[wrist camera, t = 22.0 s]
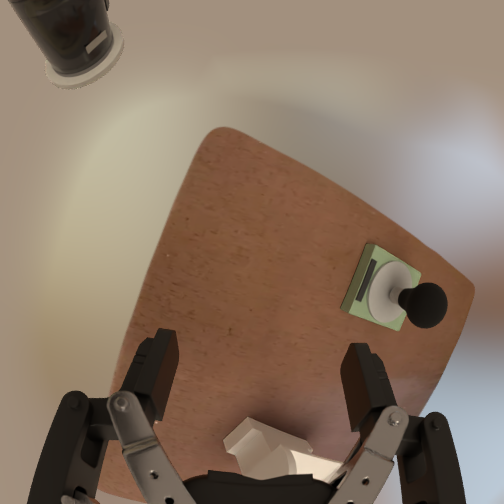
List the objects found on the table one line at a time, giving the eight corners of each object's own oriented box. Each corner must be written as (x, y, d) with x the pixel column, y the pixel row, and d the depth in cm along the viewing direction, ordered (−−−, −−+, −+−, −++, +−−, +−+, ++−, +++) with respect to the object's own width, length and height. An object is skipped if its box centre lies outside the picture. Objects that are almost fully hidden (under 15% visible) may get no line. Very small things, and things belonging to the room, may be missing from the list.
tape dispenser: (317, 430, 39) (373, 497, 22) (269, 473, 38) (306, 544, 21) (258, 404, 36) (311, 495, 18) (206, 453, 34) (231, 544, 17)
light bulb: (409, 281, 37) (460, 294, 28) (395, 316, 37) (444, 337, 27) (386, 268, 35) (441, 281, 26) (371, 307, 35) (423, 329, 26)
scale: (339, 308, 37) (351, 314, 34) (366, 243, 37) (378, 244, 35) (390, 327, 41) (401, 332, 38) (412, 271, 41) (424, 274, 38)
